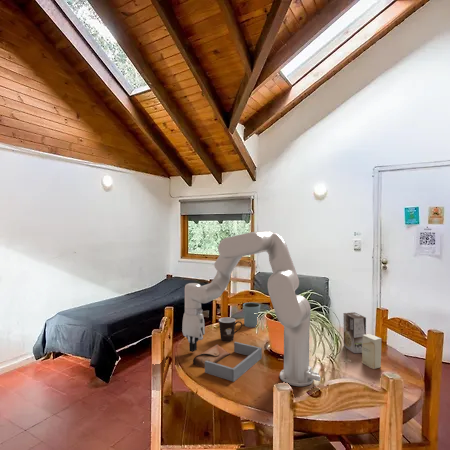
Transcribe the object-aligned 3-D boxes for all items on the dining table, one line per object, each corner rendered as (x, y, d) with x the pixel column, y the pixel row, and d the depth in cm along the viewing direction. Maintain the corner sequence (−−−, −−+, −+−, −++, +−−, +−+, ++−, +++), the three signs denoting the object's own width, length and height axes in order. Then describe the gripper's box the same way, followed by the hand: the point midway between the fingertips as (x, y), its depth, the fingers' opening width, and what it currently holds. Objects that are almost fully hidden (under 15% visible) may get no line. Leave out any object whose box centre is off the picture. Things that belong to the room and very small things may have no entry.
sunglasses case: (209, 369, 126) (202, 353, 127) (197, 374, 129) (190, 358, 131) (231, 353, 141) (225, 339, 143) (220, 358, 144) (214, 344, 146)
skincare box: (361, 363, 131) (361, 334, 131) (369, 361, 133) (369, 333, 133) (374, 369, 125) (374, 339, 125) (381, 367, 127) (381, 338, 127)
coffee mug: (217, 341, 155) (216, 322, 155) (220, 335, 163) (220, 316, 163) (239, 343, 152) (239, 323, 152) (242, 337, 161) (242, 318, 160)
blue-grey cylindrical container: (253, 321, 187) (253, 301, 187) (264, 326, 179) (264, 305, 178) (239, 324, 182) (239, 303, 182) (249, 329, 173) (249, 307, 173)
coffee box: (366, 352, 141) (366, 317, 141) (353, 353, 140) (353, 318, 140) (355, 344, 150) (355, 311, 150) (343, 345, 149) (343, 312, 149)
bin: (261, 358, 136) (261, 347, 136) (233, 381, 116) (233, 369, 116) (235, 351, 143) (235, 341, 143) (204, 372, 123) (204, 361, 123)
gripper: (211, 311, 140) (211, 351, 140) (185, 306, 148) (185, 344, 148) (201, 315, 134) (201, 357, 134) (175, 310, 142) (175, 350, 142)
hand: (193, 350), depth 141 cm, fingers closed
